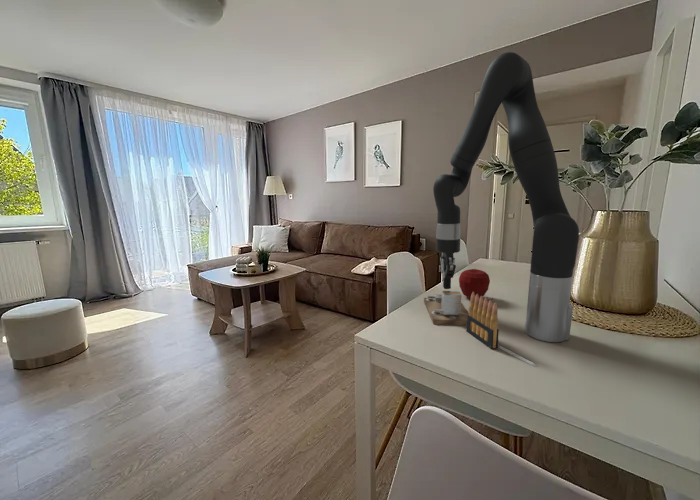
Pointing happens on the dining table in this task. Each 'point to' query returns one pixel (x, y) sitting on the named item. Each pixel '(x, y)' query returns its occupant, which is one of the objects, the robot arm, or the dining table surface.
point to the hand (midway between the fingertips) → (446, 288)
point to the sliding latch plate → (438, 317)
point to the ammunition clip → (483, 321)
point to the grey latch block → (450, 303)
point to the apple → (474, 282)
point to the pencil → (517, 356)
